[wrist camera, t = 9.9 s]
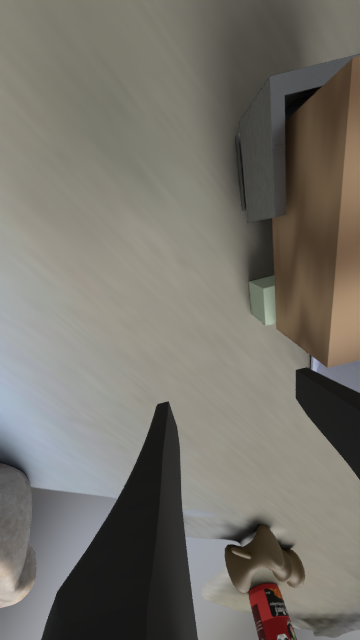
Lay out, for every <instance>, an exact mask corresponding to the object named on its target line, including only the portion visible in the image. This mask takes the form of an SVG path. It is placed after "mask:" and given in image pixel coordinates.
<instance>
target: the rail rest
mask: <svg viewBox="0 0 360 640" xmlns="http://www.w3.org/2000/svg"><path fill="white" fill-rule="evenodd" d="M249 292H250V303H251V313H252V315H253V316H254V317H256V318H257V319H258V320H259V321H260V322H262V323H263V324H264V325H265V326H267V325H271V324H275V323H276V304H275V278H274V275H273V276H269V277H265V278H261V279H257V280H253V281H249Z"/></svg>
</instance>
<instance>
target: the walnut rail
mask: <svg viewBox="0 0 360 640" xmlns="http://www.w3.org/2000/svg"><path fill="white" fill-rule="evenodd" d="M285 162H286V215H283V216H279V217H275V218H272V227H273V253H274V278H275V304H276V329H278V330H279V331H280V332H281V333H283V334H284V335H285V336H287V337H288V338H289V339H290V340H292V341H293V342H294V343H296V344H297V345H298V346H300V347H301V348H302V349H303V350H305V351H306V352H307V353H309V354H310V355H311V356H312V357H314V358H315V359H316V360H318V361H319V362H320V363H322V364H323V365H324V366H325V367H327V368H330V367H334V366H338V365H342V364H346V363H350V362H354V361H358V360H360V56H357V57H353V58H352V59H351V60H350V61H349V62H348V63H347V64H345V65H344V66H343V67H342V68H341V69H340V70H339V71H338V72H337V73H336V74H335V75H334V76H333V77H332V78H331V79H330V80H329V81H327V82H326V83H325V84H324V85H323V86H322V87H321V88H320V89H319V90H318V91H317V92H316V93H315V94H314V95H313V96H312V97H311V98H309V99H308V100H307V101H306V102H305V103H304V104H303V105H302V106H301V107H300V108H299V109H298V110H297V111H296V112H295V113H294V114H293V115H291V116H290V117H289V118H288V119H287V120H286V121H285Z"/></svg>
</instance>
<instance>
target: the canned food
mask: <svg viewBox="0 0 360 640" xmlns="http://www.w3.org/2000/svg"><path fill="white" fill-rule="evenodd" d="M249 600H250V604H251V608H252V613H253V617H254V621H255V625H256V629H257V633H258V637H259V640H297V639H296V636H295V633H294V630H293V627H292V624H291V621H290V618H289V615H288V612H287V610H286V607H285V604H284V601H283V598H282V595H281V592H280V590H279V588H278V586H277V585H276V584H274V583H264V584H260V585H257V586H255V587H253V588H252V589H251V590H250V591H249Z"/></svg>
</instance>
